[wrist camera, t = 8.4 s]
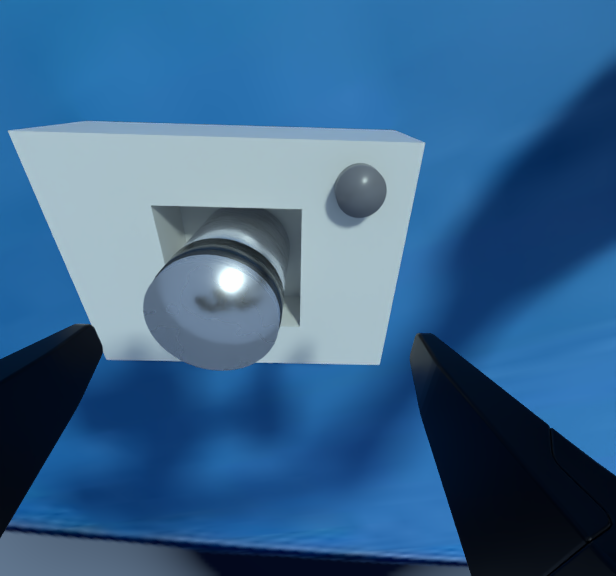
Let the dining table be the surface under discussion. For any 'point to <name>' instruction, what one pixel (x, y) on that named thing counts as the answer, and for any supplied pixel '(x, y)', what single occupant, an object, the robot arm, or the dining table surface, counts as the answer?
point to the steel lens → (222, 291)
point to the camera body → (239, 194)
